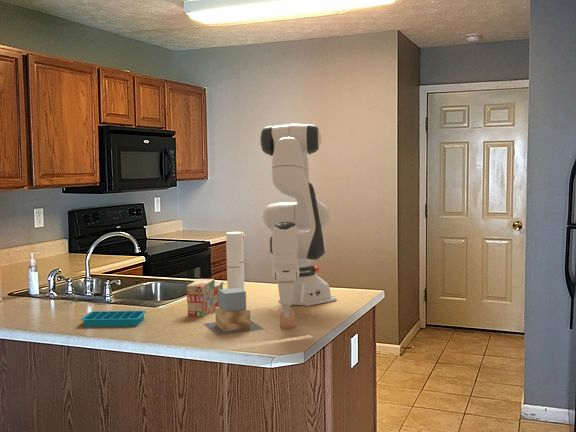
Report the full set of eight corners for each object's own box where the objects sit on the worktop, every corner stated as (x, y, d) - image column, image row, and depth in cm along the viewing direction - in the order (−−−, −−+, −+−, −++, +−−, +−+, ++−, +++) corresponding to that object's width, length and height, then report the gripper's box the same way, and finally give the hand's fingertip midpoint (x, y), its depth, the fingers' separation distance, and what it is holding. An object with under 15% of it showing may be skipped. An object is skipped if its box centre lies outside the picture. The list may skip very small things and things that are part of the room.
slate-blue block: (238, 305, 214) (238, 287, 214) (246, 309, 208) (245, 291, 208) (219, 307, 212) (218, 289, 211) (225, 312, 205) (225, 293, 205)
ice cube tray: (139, 327, 216) (138, 318, 216) (80, 328, 217) (79, 319, 216) (147, 318, 228) (147, 310, 228) (91, 319, 228) (91, 311, 228)
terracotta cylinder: (290, 326, 213) (290, 308, 212) (297, 330, 208) (296, 312, 208) (277, 328, 211) (276, 310, 210) (283, 331, 206) (282, 313, 206)
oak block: (241, 321, 216) (240, 304, 216) (250, 327, 208) (250, 309, 208) (215, 324, 213) (215, 307, 212) (224, 331, 205) (223, 313, 204)
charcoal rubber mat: (247, 320, 221) (247, 318, 221) (264, 332, 206) (264, 329, 206) (202, 326, 215) (202, 323, 214) (217, 338, 200) (217, 335, 200)
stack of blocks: (208, 305, 246) (207, 273, 245) (223, 305, 245) (223, 274, 244) (187, 319, 226) (186, 284, 224) (204, 319, 224) (203, 285, 223)
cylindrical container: (247, 290, 271) (246, 232, 269) (235, 293, 266) (234, 234, 264) (236, 288, 276) (234, 231, 274) (224, 291, 271) (222, 233, 268)
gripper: (276, 267, 218) (276, 307, 219) (276, 277, 198) (276, 321, 199) (294, 266, 218) (295, 306, 219) (296, 276, 198) (296, 320, 199)
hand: (286, 313), depth 209 cm, fingers open, 8 cm apart
